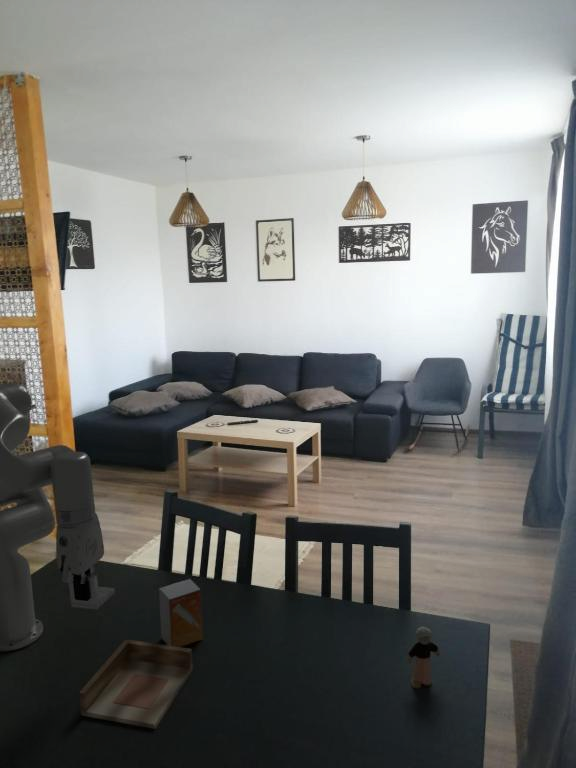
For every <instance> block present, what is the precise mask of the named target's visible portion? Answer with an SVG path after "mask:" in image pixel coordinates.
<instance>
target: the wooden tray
mask: <svg viewBox="0 0 576 768" xmlns="http://www.w3.org/2000/svg"><path fill="white" fill-rule="evenodd" d="M193 664H194V662H193V649H192V648H187V647H183V646H182V647H175V646H168V645H167V644H161V643H154V642H145V641H141V640H133V639H124V640H123V642H122V643H121V644H120V645H119V646H118V647H117V648H116V649H115V650H114V652H113V653H112V654H111V655H110V657H109V658H108V659H107V660H106V661H105V662H104V663H103V665H102V666H101V667H100V668H99V669H98V670H97V672H96V673H94V674H93V676H92V677H91V679H89V681H87V683H86V684H85V685H84V686H83V688H81V690H80V691H79V693H78V696H79V697H78V698H79V704H80V715H81V716H83V717H89V718H94V719H98V720H106V721H110V722H116V723H121V724H124V725H125V724H127V725H131V726H137V727H143V728H147V729H148V728H149V729H153V730H156V728H157V727H158V726H159V724H160V723H161V721H162V719H163V718H164V716H165V714H167V712H168V710H169V708H170V707H171V706H172V703H173V702H174V700H175V698H176V697H177V696H178V694H179V693H180V691H181V689H182V688H183V686H184V684H185V683H186V682H187V680H188V678H189V677H190V675H191V674H192V672H193V670H194V667H193V666H194V665H193Z"/></svg>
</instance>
